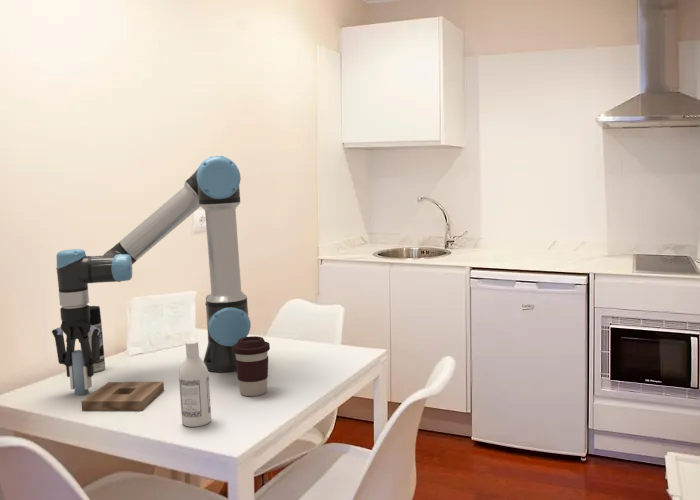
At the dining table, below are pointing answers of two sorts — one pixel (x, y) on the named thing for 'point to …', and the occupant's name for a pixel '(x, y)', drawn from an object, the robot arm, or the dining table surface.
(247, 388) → the coffee cup
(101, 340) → the spray can
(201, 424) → the bath foam
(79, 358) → the peg
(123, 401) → the socket plate
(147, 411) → the dining table surface
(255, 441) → the dining table surface
